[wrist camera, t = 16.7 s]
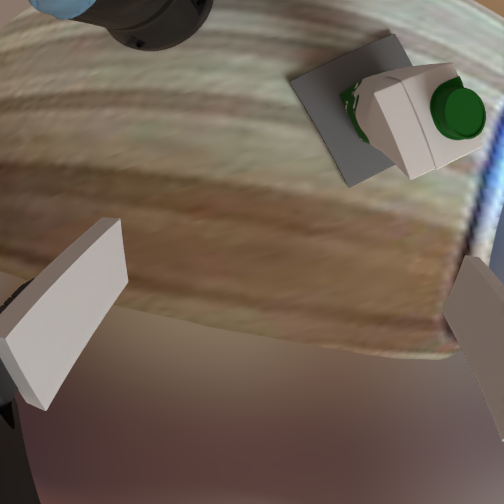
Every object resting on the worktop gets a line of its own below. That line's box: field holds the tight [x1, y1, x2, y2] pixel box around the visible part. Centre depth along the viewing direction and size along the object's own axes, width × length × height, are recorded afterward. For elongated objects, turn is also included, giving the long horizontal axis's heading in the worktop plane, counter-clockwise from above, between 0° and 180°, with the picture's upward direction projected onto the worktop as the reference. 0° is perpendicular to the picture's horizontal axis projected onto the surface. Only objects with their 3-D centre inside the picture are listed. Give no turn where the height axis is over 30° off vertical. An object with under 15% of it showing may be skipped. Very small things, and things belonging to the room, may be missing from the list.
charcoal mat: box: [290, 34, 412, 188], centre depth 37 cm, size 16×16×1 cm
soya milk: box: [339, 62, 486, 180], centre depth 27 cm, size 9×9×20 cm
